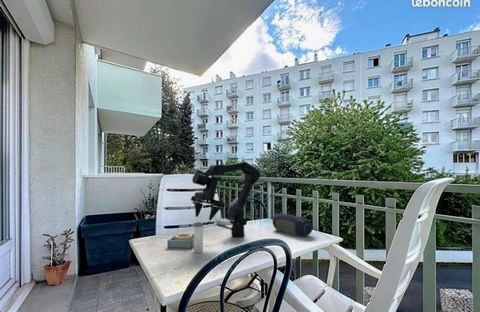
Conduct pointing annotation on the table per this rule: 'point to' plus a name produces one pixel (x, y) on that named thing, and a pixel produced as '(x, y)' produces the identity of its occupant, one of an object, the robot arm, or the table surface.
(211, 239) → the table surface
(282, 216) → the portable speaker
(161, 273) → the table surface
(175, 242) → the walled box
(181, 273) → the table surface
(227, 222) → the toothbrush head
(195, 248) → the cream and grey cylinder
